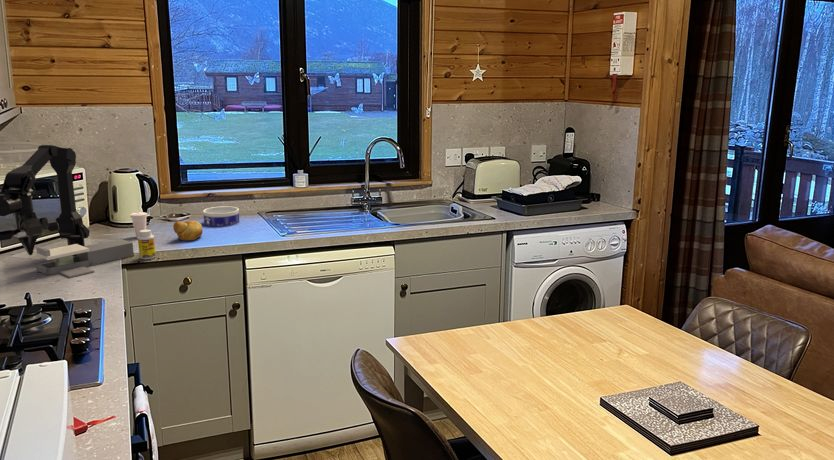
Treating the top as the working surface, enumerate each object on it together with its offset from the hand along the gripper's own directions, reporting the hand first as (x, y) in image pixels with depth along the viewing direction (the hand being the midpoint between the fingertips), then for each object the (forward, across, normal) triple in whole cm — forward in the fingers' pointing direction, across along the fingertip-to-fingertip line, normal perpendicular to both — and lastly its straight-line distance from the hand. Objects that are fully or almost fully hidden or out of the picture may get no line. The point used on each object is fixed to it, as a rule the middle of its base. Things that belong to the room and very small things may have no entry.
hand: (30, 254), depth 229 cm
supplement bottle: (+7, +35, -11) cm, 38 cm away
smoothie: (+7, +49, +20) cm, 54 cm away
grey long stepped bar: (+7, +18, 0) cm, 19 cm away
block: (+7, +10, 0) cm, 13 cm away
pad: (+7, +10, -10) cm, 16 cm away
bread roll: (+7, +62, +2) cm, 62 cm away
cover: (+2, +10, 0) cm, 10 cm away
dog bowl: (+8, +85, +16) cm, 87 cm away
